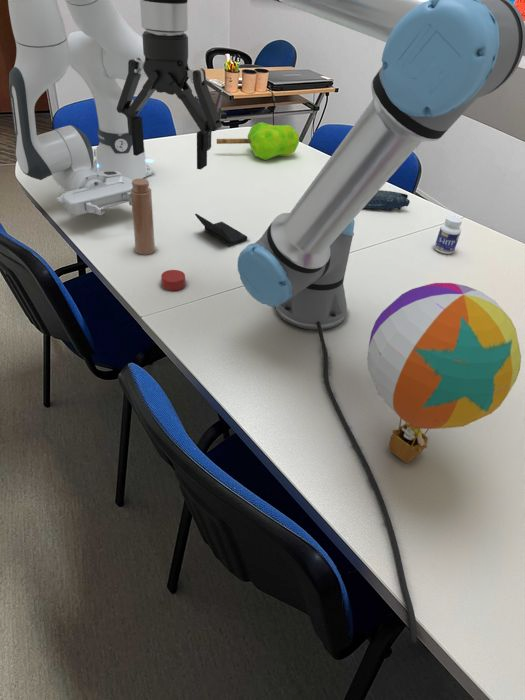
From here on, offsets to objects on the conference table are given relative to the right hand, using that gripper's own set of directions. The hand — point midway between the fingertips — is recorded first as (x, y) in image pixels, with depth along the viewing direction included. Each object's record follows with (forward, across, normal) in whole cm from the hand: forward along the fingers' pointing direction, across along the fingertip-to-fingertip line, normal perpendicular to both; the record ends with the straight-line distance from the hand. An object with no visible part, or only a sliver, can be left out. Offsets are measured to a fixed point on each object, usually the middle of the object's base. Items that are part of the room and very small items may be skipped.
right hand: (169, 160), depth 99 cm
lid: (+26, 0, 0) cm, 26 cm away
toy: (+28, -56, +28) cm, 69 cm away
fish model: (+28, -31, -68) cm, 80 cm away
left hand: (+21, +24, -16) cm, 36 cm away
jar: (+28, +14, -11) cm, 33 cm away
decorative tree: (+28, +16, -92) cm, 97 cm away
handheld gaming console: (+28, +1, -26) cm, 38 cm away
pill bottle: (+28, -55, -49) cm, 79 cm away
